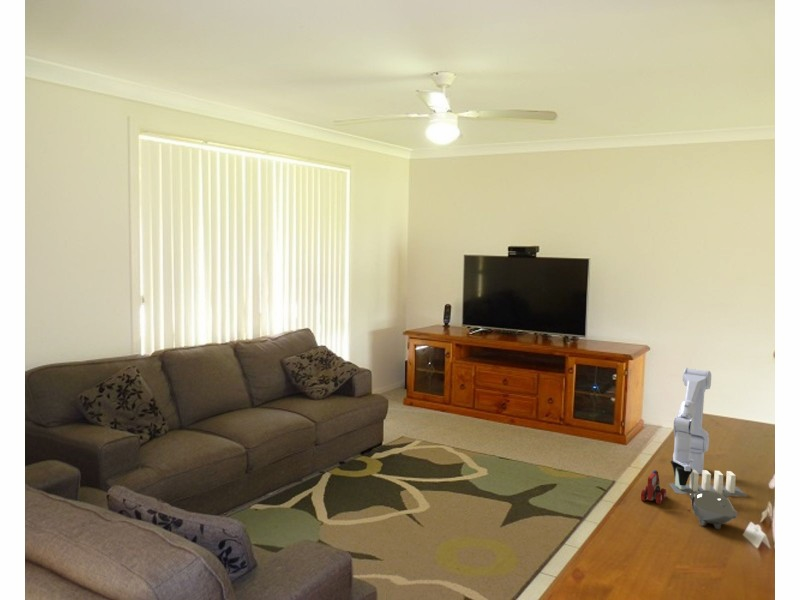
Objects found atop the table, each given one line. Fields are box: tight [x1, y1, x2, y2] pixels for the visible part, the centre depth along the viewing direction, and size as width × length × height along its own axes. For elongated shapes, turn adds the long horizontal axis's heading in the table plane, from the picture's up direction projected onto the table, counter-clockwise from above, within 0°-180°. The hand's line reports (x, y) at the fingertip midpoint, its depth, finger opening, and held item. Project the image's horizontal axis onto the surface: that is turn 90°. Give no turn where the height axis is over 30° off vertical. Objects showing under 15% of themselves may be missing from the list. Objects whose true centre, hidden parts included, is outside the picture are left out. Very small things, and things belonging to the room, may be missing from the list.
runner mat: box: [667, 482, 749, 498], centre depth 249 cm, size 10×26×1 cm, turn 84°
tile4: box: [713, 470, 724, 493], centre depth 248 cm, size 2×4×7 cm, turn 174°
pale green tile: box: [674, 469, 685, 490], centre depth 250 cm, size 2×4×7 cm, turn 7°
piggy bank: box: [688, 490, 738, 530], centre depth 220 cm, size 11×15×12 cm
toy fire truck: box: [640, 469, 667, 505], centre depth 240 cm, size 7×12×10 cm, turn 144°
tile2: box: [689, 470, 700, 492], centre depth 249 cm, size 2×4×7 cm, turn 174°
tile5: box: [725, 470, 737, 493], centre depth 248 cm, size 2×4×7 cm, turn 174°
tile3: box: [701, 469, 712, 490], centre depth 249 cm, size 2×4×7 cm, turn 174°
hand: (680, 482), depth 250 cm, fingers closed on pale green tile, 5 cm apart
